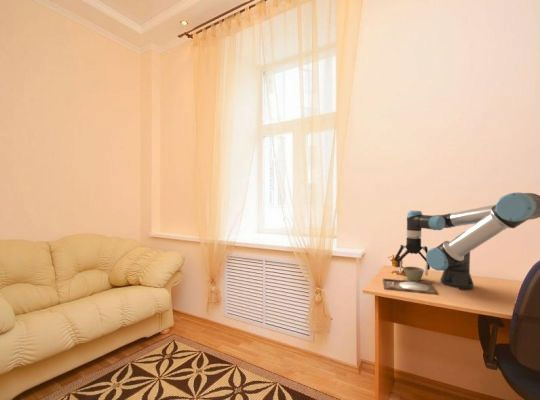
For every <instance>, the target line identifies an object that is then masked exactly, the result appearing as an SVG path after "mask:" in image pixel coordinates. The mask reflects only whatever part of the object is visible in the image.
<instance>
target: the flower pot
mask: <svg viewBox="0 0 540 400" xmlns="http://www.w3.org/2000/svg"><path fill="white" fill-rule="evenodd" d="M403 267H404V266H403ZM404 271H405V274H406V275H405V276H406V278H407V281H417V282H420V280H421V279H422V277H423V275H424V272H425V269H423V268H421V267H418V266H417V267H416V266H405V267H404Z"/></svg>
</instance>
